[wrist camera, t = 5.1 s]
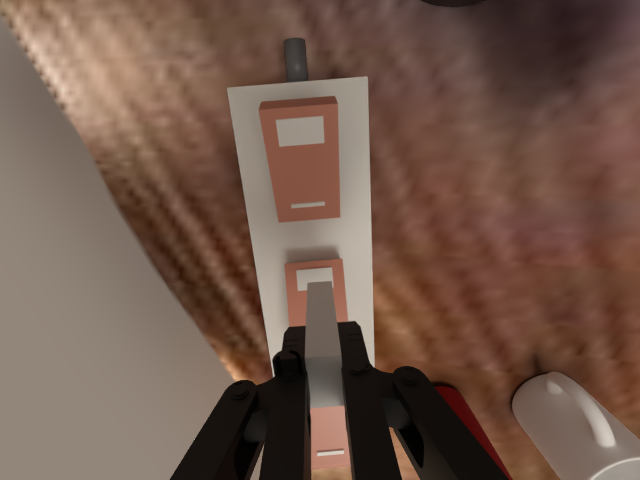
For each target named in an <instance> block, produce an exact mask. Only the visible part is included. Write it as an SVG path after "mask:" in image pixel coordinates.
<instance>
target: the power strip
mask: <svg viewBox="0 0 640 480" xmlns="http://www.w3.org/2000/svg"><path fill="white" fill-rule="evenodd" d="M283 44H284V54H285V63H286V73H287V83H279V84H266V85H254V86H241V87H229V88H227V92H228V99H229V105H230V111H231V117H232V125H233V131H234V137H235V143H236V149H237V156H238V162H239V168H240V174H241V180H242V187H243V193H244V199H245V205H246V210H247V217H248V223H249V229H250V235H251V241H252V248H253V254H254V260H255V267H256V273H257V279H258V286H259V292H260V298H261V304H262V310H263V317H264V323H265V329H266V334H267V341H268V347H269V353H270V359H271V365H272V372H273V377H274V376H275V375H274V369H273V363H272V359H273V357H274V356H275V355H276V354H277V353H278V352H279V351H281V350H282V343H283V336H284V333H285V331H286V330H287V329H288V327H289V317H288V304H287V292H286V279H285V266H284V264H285V263H297V262H308V261H320V260H331V259H343V269H344V280H345V291H346V302H347V313H348V321H356V322H357V323H358V324H359V325H360V326H361V330H362V335H363V338H364V342H365V346H366V350H367V354H368V358H369V361H370V363H371V365H372V366H373V367H374V368H375V365H374V322H373V279H372V236H371V193H370V150H369V108H368V76H366V77H353V78H341V79H329V80H316V81H308V72H307V59H306V47H305V40H304V39H302V38H291V39H287V40H285V41H284V42H283ZM325 96H335V97H336V100H337V102H338V130H339V177H340V218H329V219H317V220H305V221H293V222H282V223H279V221H278V216H277V210H276V204H275V199H274V193H273V188H272V182H271V177H270V171H269V166H268V160H267V155H266V149H265V143H264V138H263V132H262V127H261V121H260V116H259V107H260V104H261V102H263V101H276V100H288V99H300V98H313V97H325Z"/></svg>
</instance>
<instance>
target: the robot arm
mask: <svg viewBox="0 0 640 480" xmlns="http://www.w3.org/2000/svg"><path fill="white" fill-rule="evenodd" d="M423 1H425V2H428V3H431V4H435V5H440V6H449V7H458V6H467V5H471V4H475V3H479V2H482V1H484V0H423ZM272 363H273V369H274V375H275V376H274V377H273V378H272V379H270V380H269V381H267V382H265V383H262V384H259V385H255V384H254V383H253V382H252V381H249V380H240V381H237V382H235V383H233V384H232V385H230V386H229V387H228V388H227V389H226V390H225V392H224V393H223V395H222V397H221V398H220V400H219V401H218V403H217V405H216V406H215V408H214V409H213V411H212V413H211V414H210V416H209V417H208V419H207V421H206V422H205V424H204V425H203V427H202V429H201V430H200V432H199V433H198V435H197V437H196V438H195V440H194V441H193V443H192V445H191V446H190V448H189V449H188V451H187V453H186V454H185V456H184V458H183V459H182V461H181V463H180V464H179V466H178V467H177V469H176V470H175V472H174V474H173V475H172V477H171V478H170V480H250V478H251V475H252V473H253V470H254V467H255V465H256V463H257V460H258V458H259V455H260V452H261V450H262V447H263V445H264V450H263V456H262V463H261V470H260V476H259V480H311V413H310V407H311V408H321V407H334V406H344V407H345V422H346V430H347V437H348V446H349V455H350V464H351V473H352V480H402V477H401V474H400V470H399V466H398V462H397V458H396V454H395V450H394V446H393V443H392V439H391V435H390V431H389V427H392V428H393V429H394V432H395V434H396V436H397V437H398V439H399V441H400V443H401V445H402V447H403V448H404V450H405V452H406V454H407V456H408V458H409V460H410V461H411V463H412V465H413V467H414V469H415V471H416V472H417V474H418V476H419V478H420V480H509V478H508V477H507V476H506V475H505V474H504V472H503V471H502V470H501V469H500V467H499V466H498V465H497V464H496V462H495V461H494V460H493V459H492V457H491V456H490V455H489V454H488V452H487V451H486V450H485V449H484V448H483V446H482V445H481V444H480V443H479V441H478V440H477V439H476V438H475V436H474V435H473V434H472V433H471V431H470V430H469V429H468V428H467V426H466V425H465V424H464V423H463V422H462V420H461V419H460V418H459V417H458V415H457V414H456V413H455V412H454V410H453V409H452V408H451V407H450V405H449V404H448V403H447V402H446V400H445V399H444V398H443V397H442V395H441V394H440V393H439V392H438V391H437V389H436V388H435V387H434V386H433V384H432V383H431V382H430V381H429V379H428V378H427V377H426V376H425V374H424V373H422V372H421V371H420V370H419V369H416V368H414V367H410V366H403V367H400V368H397V369H396V370H395V371H394V372H393V374H392V373H386V372H382V371H380V370H378V369H376V368H374V367H373V366H372V365H371V363H370V361H369V358H368V354H367V350H366V346H365V342H364V338H363V335H362V330H361V326H360V325H359V324H358V323H357V322H356V321H348V322H337V318H336V310H335V303H334V295H333V288H332V281H322V282H310V283H307V306H306V326H294V327H288V329H287V330H286V331H285V333H284V336H283V343H282V350H281V351H279V352H278V353H277V354H276V355H275V356H274V357H273V359H272ZM264 442H265V443H264Z"/></svg>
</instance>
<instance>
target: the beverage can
mask: <svg viewBox="0 0 640 480" xmlns="http://www.w3.org/2000/svg"><path fill="white" fill-rule="evenodd" d="M435 388H436V389H437V391H438V392H439V393H440V394H441V395H442V397H443V398H444V399H445V400H446V402H447V403H448V404H449V405H450V407H451V408H452V409H453V410H454V412H455V413H456V414H457V415H458V417H459V418H460V419H461V420H462V422H463V423H464V424H465V425H466V426H467V428H468V429H469V430H470V431H471V433H472V434H473V435H474V436H475V438H476V439H477V440H478V441H479V443H480V444H481V445H482V446H483V448H484V449H485V450H486V451H487V452H488V454H489V455H490V456H491V457H492V459H493V460H494V461H495V462H496V464H497V465H498V466H499V467H500V469H501V470H502V471H503V472H504V474H505V475H506V476H507V477H508V478H509V480H512V478H511V476H510V474H509V473H508V471H507V469H506V468H505V466H504V464H503V462H502V461H501V459H500V457H499V456H498V454H497V452H496V451H495V449H494V447H493V446H492V444H491V442H490V441H489V439H488V437H487V436H486V434H485V432H484V431H483V429H482V427H481V426H480V424H479V422H478V421H477V419H476V417H475V416H474V414H473V413H472V411H471V409H470V408H469V406H468V404H467V403H466V401H465V400H464V398H463V396H462V395H461V394H460V393H459V392H458V391H457V390H455V389H453V388H450V387H445V386H438V387H435Z"/></svg>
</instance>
